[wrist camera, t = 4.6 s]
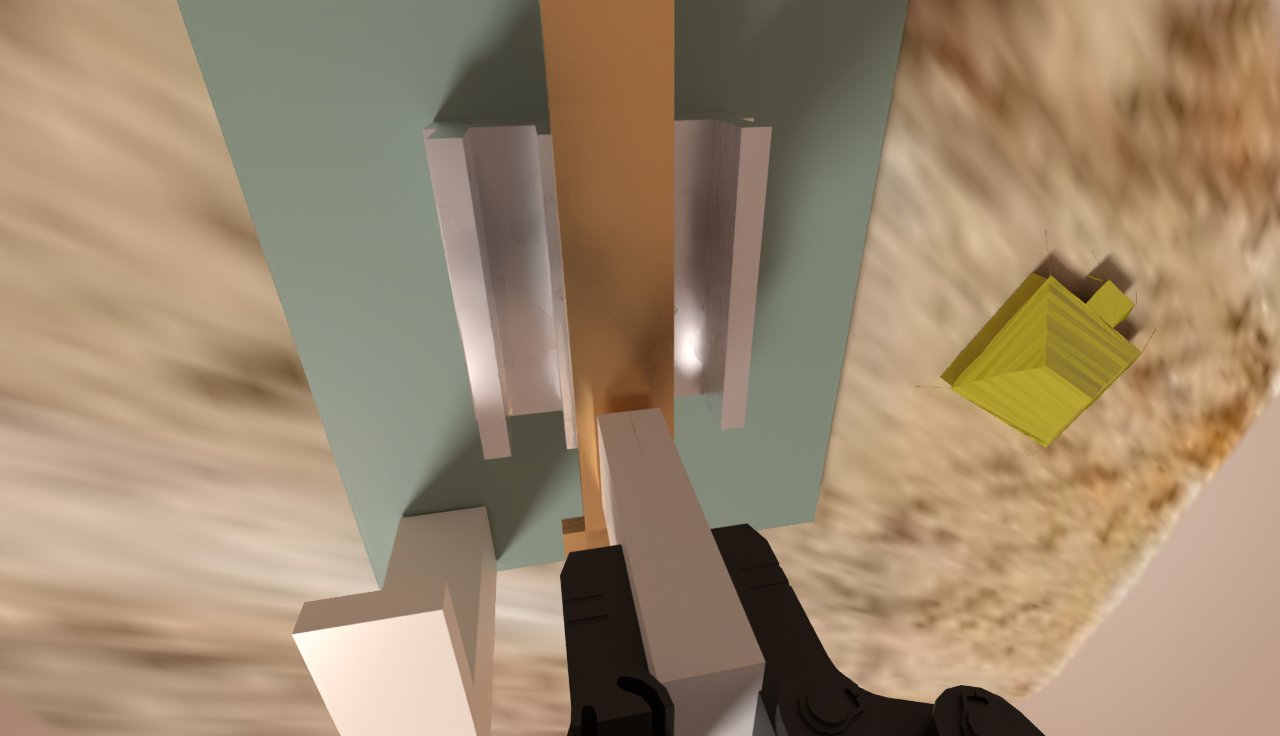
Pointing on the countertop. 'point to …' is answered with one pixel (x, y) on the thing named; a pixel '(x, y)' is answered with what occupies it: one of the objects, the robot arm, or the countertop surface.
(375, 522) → the board
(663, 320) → the strap
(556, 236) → the heatsink
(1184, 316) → the countertop surface
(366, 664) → the cream l-shaped bracket
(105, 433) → the countertop surface
